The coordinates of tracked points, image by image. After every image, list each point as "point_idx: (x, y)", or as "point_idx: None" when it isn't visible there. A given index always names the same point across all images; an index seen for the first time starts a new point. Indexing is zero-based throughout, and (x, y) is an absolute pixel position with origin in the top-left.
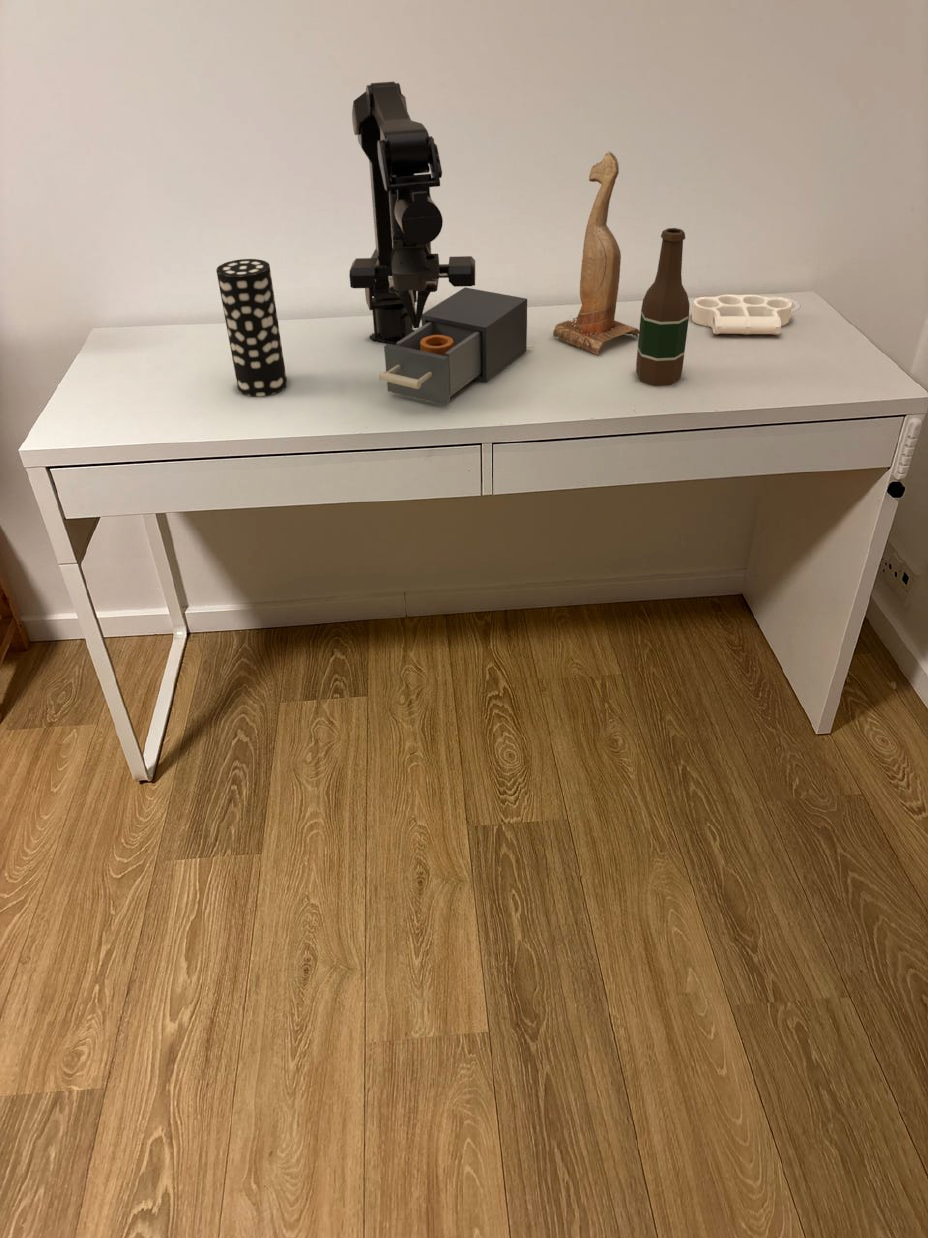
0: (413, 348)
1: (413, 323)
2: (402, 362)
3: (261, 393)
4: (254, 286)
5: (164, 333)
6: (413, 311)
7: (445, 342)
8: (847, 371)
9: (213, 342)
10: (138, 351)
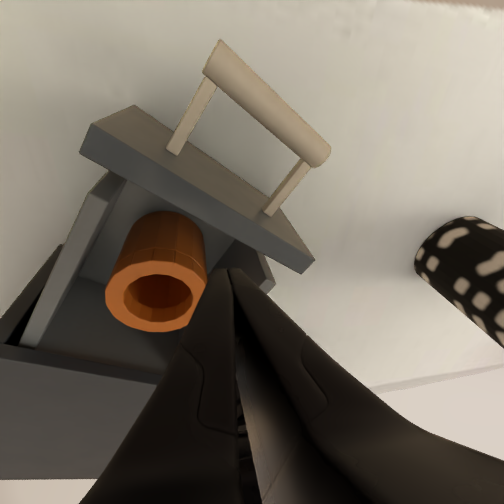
0: None
1: (242, 279)
2: (260, 212)
3: (470, 219)
4: None
5: (474, 358)
6: (254, 325)
7: (137, 307)
8: None
9: (444, 347)
10: None
